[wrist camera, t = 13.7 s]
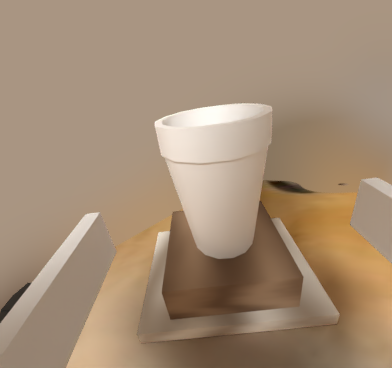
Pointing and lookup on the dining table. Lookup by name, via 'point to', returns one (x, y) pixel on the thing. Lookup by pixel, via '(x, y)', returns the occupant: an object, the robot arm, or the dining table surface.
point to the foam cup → (218, 171)
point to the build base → (233, 323)
